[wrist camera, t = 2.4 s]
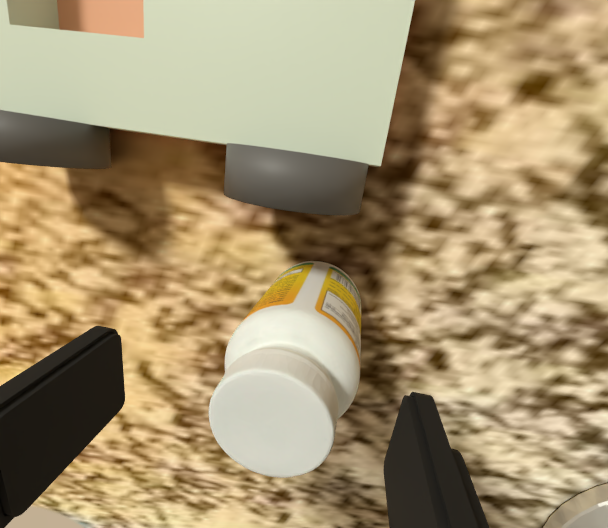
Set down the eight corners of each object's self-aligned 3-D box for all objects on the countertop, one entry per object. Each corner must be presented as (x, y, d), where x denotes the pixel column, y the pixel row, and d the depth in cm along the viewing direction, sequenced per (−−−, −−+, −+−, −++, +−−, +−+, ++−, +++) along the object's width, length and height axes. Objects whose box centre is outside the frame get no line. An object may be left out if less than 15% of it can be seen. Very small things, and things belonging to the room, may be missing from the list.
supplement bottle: (371, 270, 17) (382, 380, 8) (349, 351, 19) (339, 517, 10) (278, 249, 18) (193, 329, 9) (265, 329, 20) (182, 466, 10)
